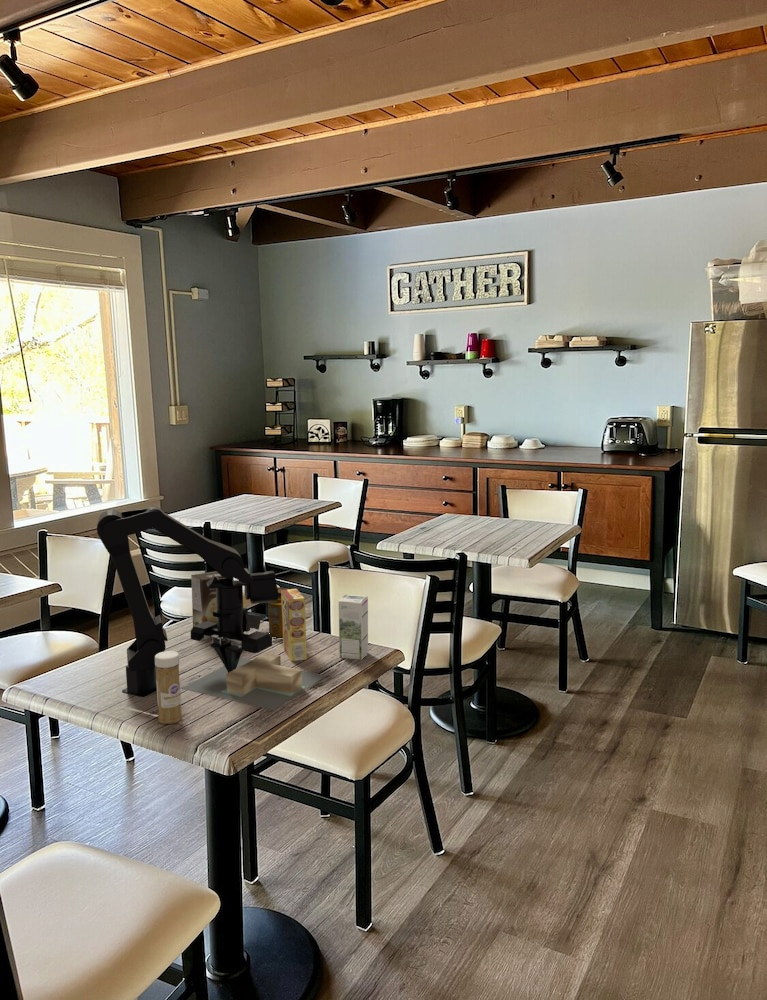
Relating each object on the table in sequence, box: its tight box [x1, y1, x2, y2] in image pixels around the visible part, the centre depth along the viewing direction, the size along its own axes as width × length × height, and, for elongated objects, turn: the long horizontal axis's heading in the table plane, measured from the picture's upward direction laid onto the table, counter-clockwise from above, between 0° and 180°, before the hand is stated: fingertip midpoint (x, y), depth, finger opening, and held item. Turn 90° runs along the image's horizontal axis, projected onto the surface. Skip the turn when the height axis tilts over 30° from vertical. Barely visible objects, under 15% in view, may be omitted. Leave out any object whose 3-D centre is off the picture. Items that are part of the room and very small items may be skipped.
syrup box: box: [338, 594, 369, 661], centre depth 184 cm, size 6×6×14 cm
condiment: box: [264, 587, 289, 641], centre depth 199 cm, size 7×8×12 cm
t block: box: [226, 652, 303, 695], centre depth 167 cm, size 14×13×4 cm
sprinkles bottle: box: [155, 650, 183, 725], centre depth 151 cm, size 5×5×13 cm
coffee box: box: [190, 570, 235, 641], centre depth 200 cm, size 9×6×16 cm
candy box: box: [281, 588, 308, 662], centre depth 185 cm, size 9×4×15 cm, turn 19°
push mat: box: [181, 657, 327, 711], centre depth 169 cm, size 20×24×1 cm
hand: (231, 673), depth 172 cm, fingers closed
